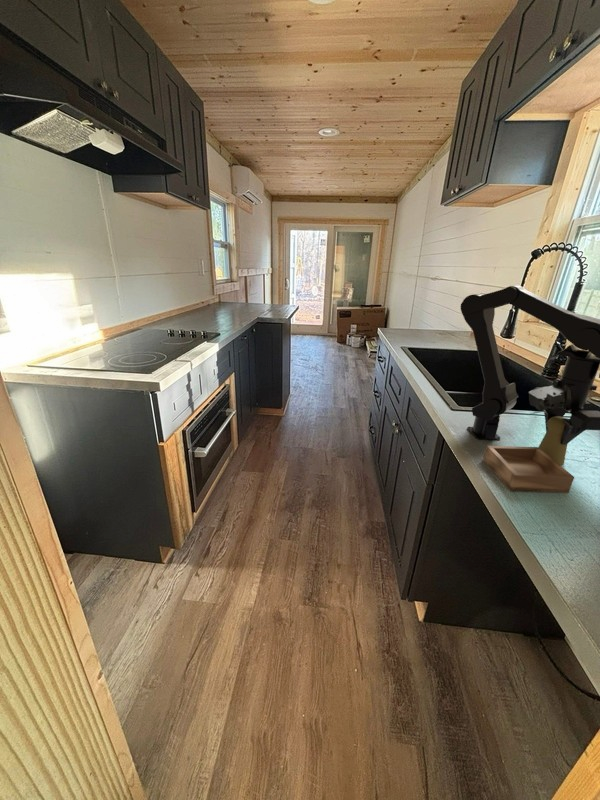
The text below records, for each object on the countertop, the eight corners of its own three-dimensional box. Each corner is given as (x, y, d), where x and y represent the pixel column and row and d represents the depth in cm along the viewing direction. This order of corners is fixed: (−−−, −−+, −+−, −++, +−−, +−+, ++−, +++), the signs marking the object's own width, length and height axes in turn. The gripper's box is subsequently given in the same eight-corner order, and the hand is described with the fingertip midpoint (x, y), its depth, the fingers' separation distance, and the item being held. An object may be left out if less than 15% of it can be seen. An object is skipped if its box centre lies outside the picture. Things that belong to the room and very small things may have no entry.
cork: (535, 449, 85) (548, 411, 81) (564, 457, 82) (579, 418, 77) (533, 459, 81) (546, 419, 77) (563, 468, 77) (579, 427, 73)
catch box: (483, 459, 80) (486, 445, 79) (533, 461, 80) (537, 447, 78) (510, 491, 69) (515, 475, 68) (568, 492, 69) (574, 477, 67)
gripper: (516, 365, 82) (501, 421, 88) (570, 392, 65) (547, 459, 71) (562, 366, 82) (543, 422, 88) (628, 393, 64) (599, 460, 70)
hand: (555, 439), depth 79 cm, fingers closed on cork, 5 cm apart
